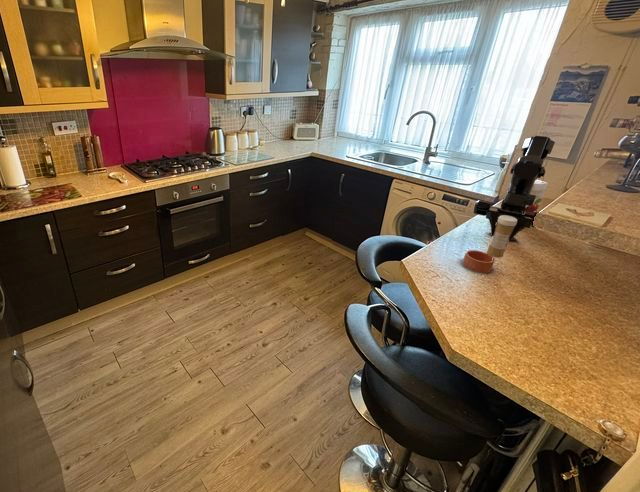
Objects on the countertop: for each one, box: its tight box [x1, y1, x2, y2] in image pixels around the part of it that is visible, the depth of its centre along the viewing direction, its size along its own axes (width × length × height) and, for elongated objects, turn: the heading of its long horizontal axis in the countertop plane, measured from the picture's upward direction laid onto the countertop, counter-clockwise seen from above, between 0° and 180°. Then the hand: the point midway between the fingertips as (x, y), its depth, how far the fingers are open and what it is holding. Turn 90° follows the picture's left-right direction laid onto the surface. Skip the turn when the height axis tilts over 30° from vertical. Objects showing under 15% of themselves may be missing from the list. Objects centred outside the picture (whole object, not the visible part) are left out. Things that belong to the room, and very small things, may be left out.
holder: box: [462, 249, 496, 274], centre depth 109 cm, size 8×8×4 cm
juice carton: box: [524, 179, 549, 215], centre depth 138 cm, size 8×9×19 cm
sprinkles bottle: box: [486, 215, 517, 259], centre depth 102 cm, size 5×5×13 cm
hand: (500, 237), depth 101 cm, fingers closed on sprinkles bottle, 4 cm apart
